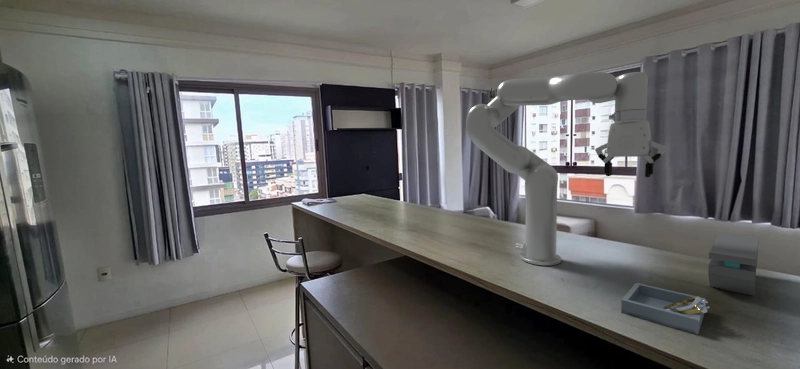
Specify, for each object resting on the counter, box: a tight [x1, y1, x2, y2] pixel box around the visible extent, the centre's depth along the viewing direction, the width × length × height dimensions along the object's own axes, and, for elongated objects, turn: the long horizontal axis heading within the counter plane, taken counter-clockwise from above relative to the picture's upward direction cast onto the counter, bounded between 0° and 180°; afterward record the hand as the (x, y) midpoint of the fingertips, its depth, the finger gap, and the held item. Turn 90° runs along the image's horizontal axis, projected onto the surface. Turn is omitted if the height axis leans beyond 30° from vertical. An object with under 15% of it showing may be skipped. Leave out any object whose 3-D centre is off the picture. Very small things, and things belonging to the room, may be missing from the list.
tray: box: [620, 282, 707, 336], centre depth 74 cm, size 13×13×3 cm
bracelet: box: [663, 295, 711, 314], centre depth 70 cm, size 7×3×8 cm
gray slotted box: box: [707, 232, 760, 297], centre depth 86 cm, size 25×8×11 cm, turn 132°
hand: (627, 176), depth 96 cm, fingers open, 9 cm apart
